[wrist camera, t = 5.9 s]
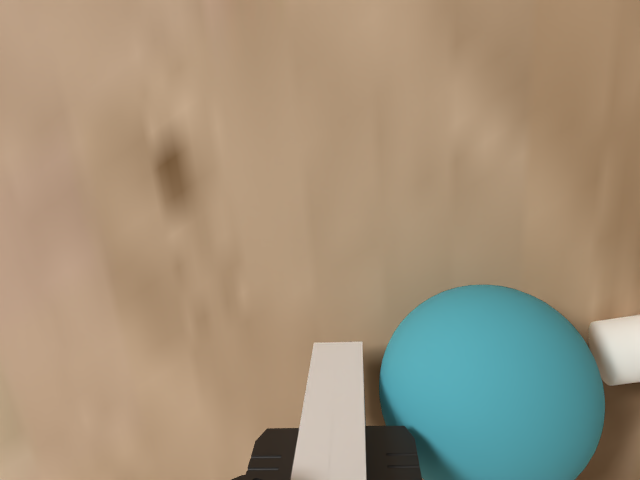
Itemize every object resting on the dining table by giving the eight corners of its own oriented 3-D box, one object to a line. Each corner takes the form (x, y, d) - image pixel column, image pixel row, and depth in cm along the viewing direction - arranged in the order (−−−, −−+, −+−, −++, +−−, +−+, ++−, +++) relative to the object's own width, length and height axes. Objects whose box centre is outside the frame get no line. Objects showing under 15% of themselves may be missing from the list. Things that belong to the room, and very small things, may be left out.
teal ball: (391, 410, 11) (691, 423, 10) (381, 240, 16) (586, 245, 15) (376, 544, 14) (601, 557, 14) (372, 371, 19) (538, 378, 19)
